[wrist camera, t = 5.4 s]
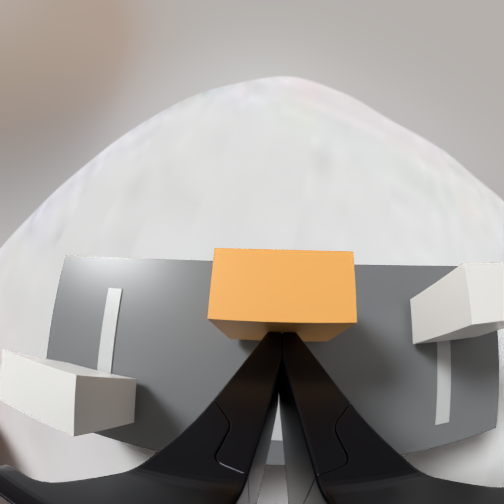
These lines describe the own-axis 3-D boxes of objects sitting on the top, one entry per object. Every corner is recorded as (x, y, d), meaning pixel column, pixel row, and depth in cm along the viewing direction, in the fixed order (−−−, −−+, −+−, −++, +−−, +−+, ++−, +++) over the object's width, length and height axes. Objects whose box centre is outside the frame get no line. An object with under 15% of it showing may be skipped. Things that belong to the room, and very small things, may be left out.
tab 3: (477, 336, 10) (539, 314, 6) (412, 343, 10) (472, 324, 6) (473, 296, 10) (530, 263, 7) (410, 299, 11) (463, 262, 7)
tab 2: (326, 341, 10) (356, 322, 7) (230, 338, 10) (207, 318, 7) (326, 293, 11) (353, 252, 7) (233, 291, 11) (214, 248, 8)
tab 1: (134, 422, 9) (73, 436, 6) (65, 401, 10) (-1, 399, 6) (136, 378, 10) (76, 374, 6) (68, 362, 10) (2, 348, 7)
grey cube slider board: (445, 420, 13) (496, 427, 8) (95, 409, 14) (42, 412, 10) (442, 293, 16) (488, 263, 11) (110, 284, 17) (65, 252, 13)
